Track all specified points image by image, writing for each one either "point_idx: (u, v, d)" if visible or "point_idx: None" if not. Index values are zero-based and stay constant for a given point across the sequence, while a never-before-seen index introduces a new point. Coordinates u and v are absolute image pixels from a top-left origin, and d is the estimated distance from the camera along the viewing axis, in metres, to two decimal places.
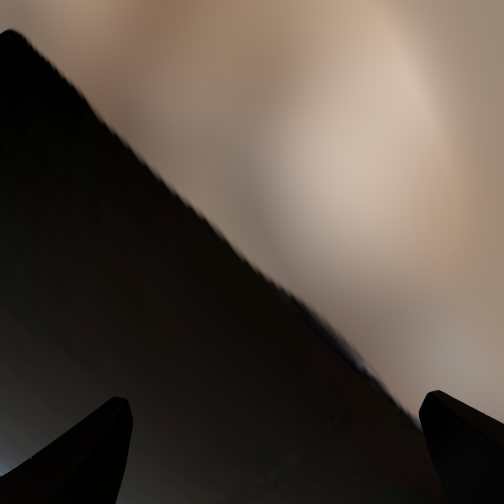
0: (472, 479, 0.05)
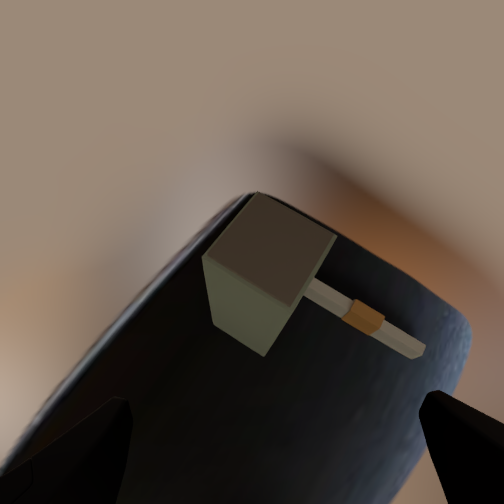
0: (472, 479, 0.05)
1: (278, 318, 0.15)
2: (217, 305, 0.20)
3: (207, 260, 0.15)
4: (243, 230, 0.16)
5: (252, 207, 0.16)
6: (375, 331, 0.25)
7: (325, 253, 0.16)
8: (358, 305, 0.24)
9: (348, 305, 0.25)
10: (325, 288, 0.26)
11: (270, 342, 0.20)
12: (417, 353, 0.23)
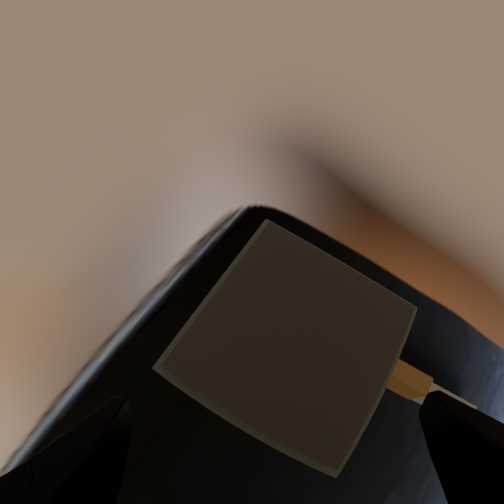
0: (472, 479, 0.05)
1: None
2: None
3: None
4: (238, 312, 0.07)
5: (257, 255, 0.08)
6: (418, 397, 0.16)
7: (400, 347, 0.07)
8: (401, 367, 0.16)
9: None
10: None
11: None
12: None
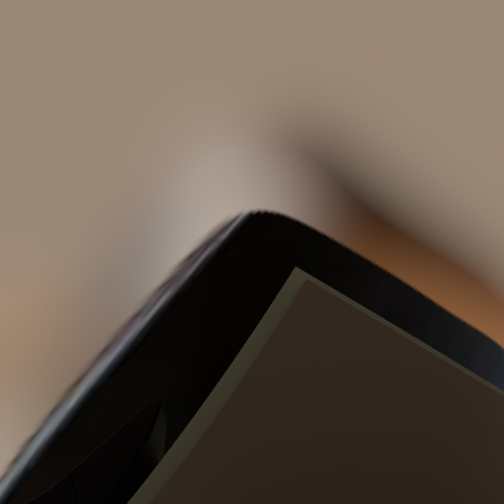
0: None
1: None
2: None
3: None
4: (235, 503, 0.02)
5: (279, 369, 0.03)
6: None
7: None
8: None
9: None
10: None
11: None
12: None
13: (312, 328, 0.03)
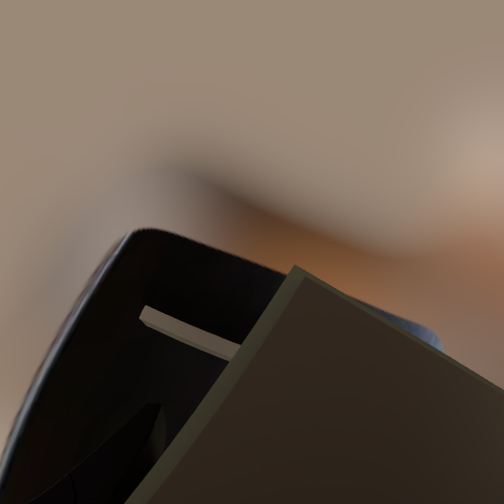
0: None
1: None
2: None
3: None
4: (235, 501, 0.02)
5: (278, 366, 0.03)
6: None
7: None
8: None
9: None
10: (228, 345, 0.20)
11: None
12: None
13: (311, 325, 0.03)
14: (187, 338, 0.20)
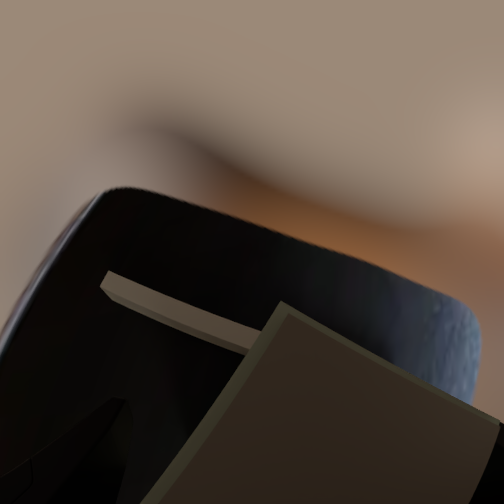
0: None
1: None
2: None
3: None
4: (233, 491, 0.03)
5: (266, 387, 0.04)
6: None
7: (473, 484, 0.03)
8: None
9: None
10: (214, 321, 0.15)
11: None
12: None
13: (292, 354, 0.04)
14: (159, 312, 0.15)
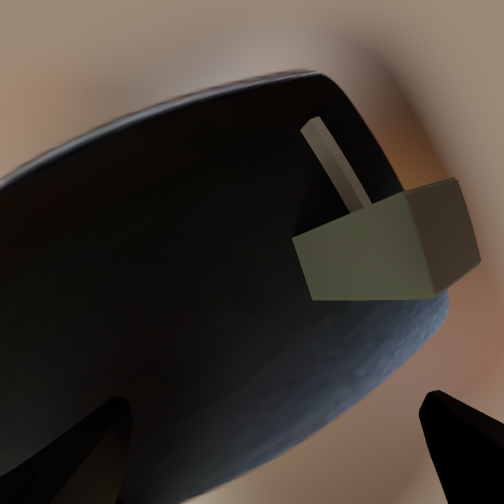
0: (472, 479, 0.05)
1: (407, 291, 0.14)
2: (337, 232, 0.18)
3: (403, 199, 0.12)
4: (438, 200, 0.13)
5: (449, 187, 0.13)
6: None
7: (469, 270, 0.13)
8: None
9: None
10: (356, 182, 0.24)
11: (351, 298, 0.19)
12: None
13: (455, 187, 0.14)
14: (335, 156, 0.24)
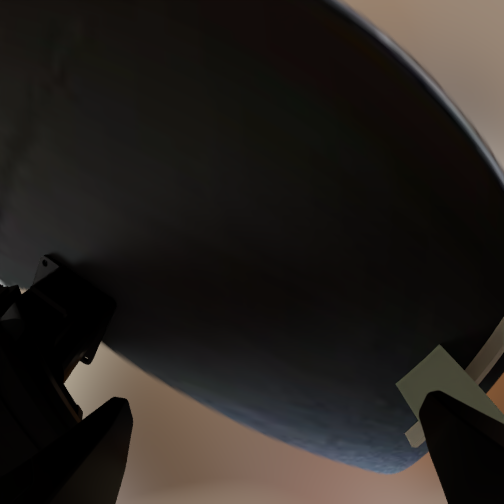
0: (472, 479, 0.05)
1: None
2: (470, 392, 0.16)
3: None
4: None
5: None
6: None
7: None
8: None
9: None
10: (489, 367, 0.21)
11: None
12: (414, 442, 0.23)
13: None
14: None
